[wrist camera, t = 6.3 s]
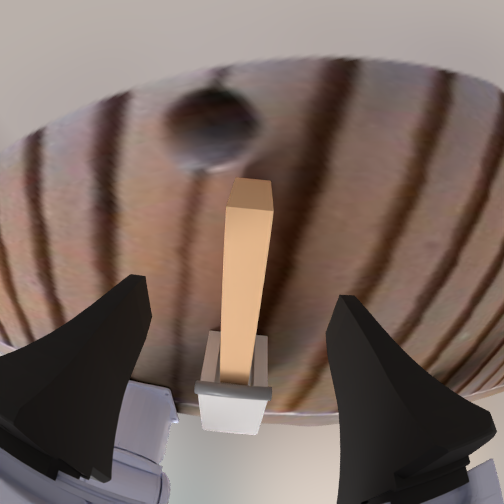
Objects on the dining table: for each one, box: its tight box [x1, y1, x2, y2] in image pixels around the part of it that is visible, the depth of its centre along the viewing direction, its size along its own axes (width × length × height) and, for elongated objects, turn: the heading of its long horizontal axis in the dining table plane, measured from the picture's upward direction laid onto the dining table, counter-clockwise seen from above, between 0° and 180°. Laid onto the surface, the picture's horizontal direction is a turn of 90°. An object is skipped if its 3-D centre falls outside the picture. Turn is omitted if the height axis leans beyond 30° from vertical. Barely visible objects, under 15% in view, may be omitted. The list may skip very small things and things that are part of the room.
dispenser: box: [195, 331, 272, 435], centre depth 22 cm, size 8×5×6 cm
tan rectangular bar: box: [220, 177, 274, 385], centre depth 17 cm, size 13×2×4 cm, turn 175°
